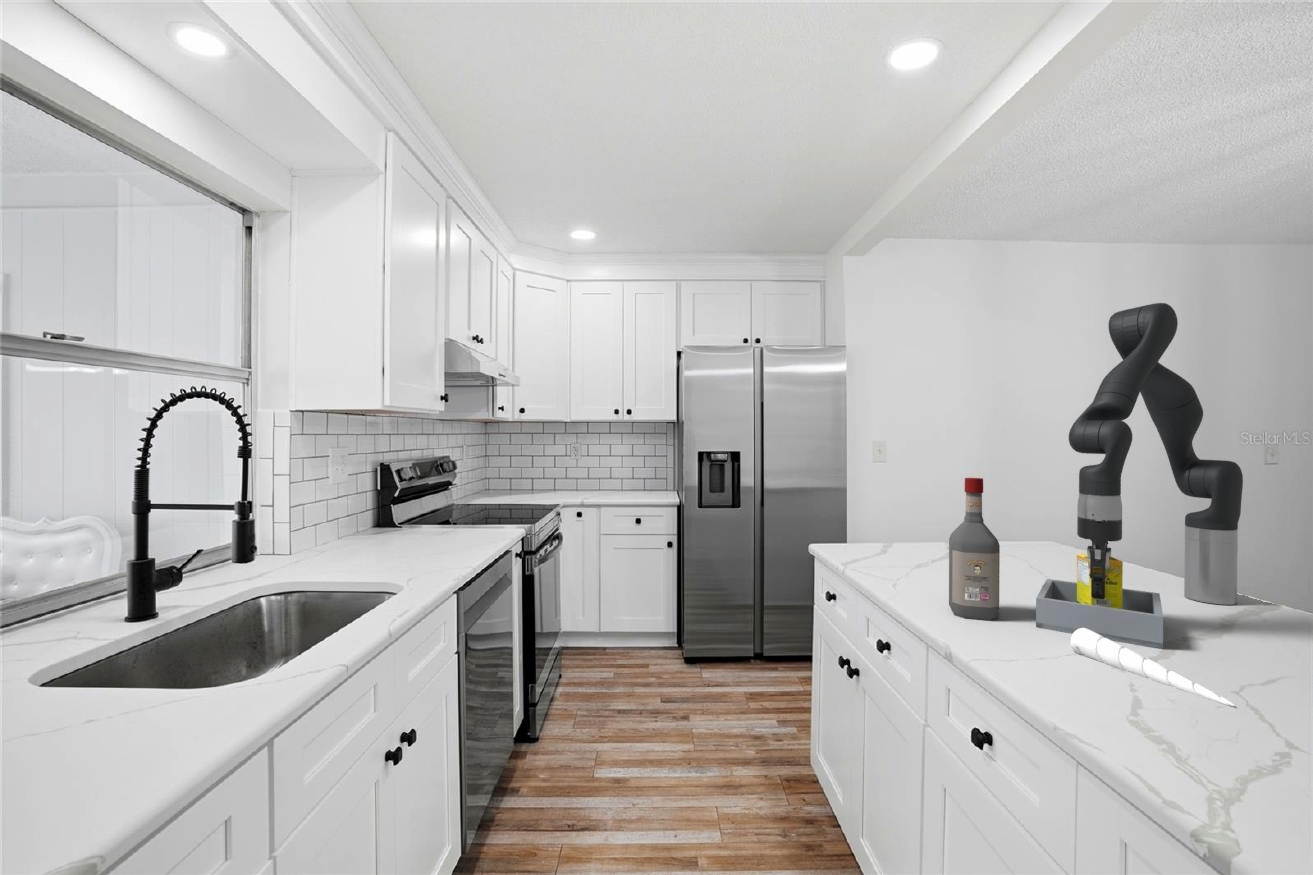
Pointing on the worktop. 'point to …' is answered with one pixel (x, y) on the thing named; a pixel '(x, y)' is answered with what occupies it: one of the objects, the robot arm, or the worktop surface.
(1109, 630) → the bin
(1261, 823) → the worktop surface
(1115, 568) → the supplement box
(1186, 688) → the unicorn horn
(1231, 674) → the worktop surface
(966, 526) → the liquor
